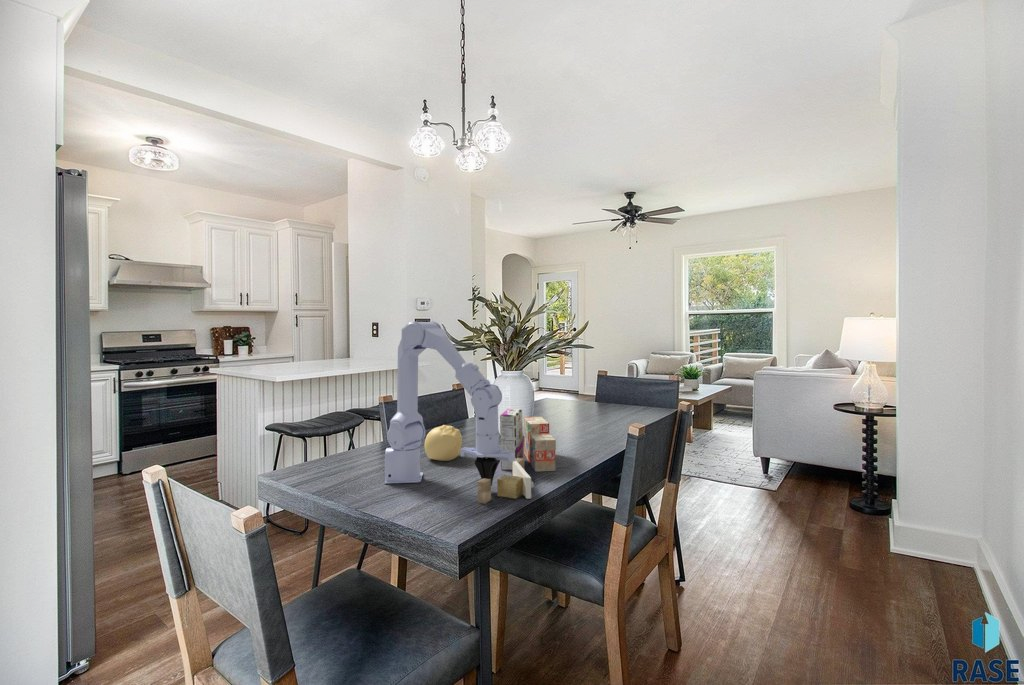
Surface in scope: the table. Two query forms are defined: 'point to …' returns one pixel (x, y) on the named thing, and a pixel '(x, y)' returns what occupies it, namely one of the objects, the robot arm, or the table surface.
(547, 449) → the stack of blocks
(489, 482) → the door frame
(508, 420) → the candy bar box
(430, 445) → the yellow round lump
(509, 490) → the tan wooden block
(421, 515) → the table surface
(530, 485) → the door
